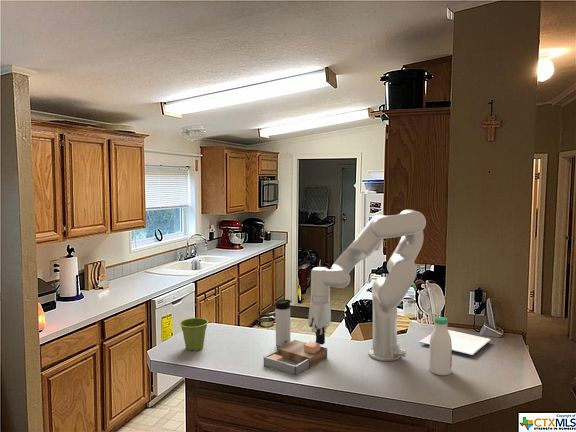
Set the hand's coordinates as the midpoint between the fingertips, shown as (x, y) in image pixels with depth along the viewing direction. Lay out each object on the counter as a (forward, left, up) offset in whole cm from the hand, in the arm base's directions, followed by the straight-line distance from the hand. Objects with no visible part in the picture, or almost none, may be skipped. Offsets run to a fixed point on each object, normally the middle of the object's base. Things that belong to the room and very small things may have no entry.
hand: (320, 343), depth 179 cm
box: (+4, +17, -5) cm, 18 cm away
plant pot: (+47, +24, -5) cm, 54 cm away
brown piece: (+4, +6, -5) cm, 9 cm away
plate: (-40, -45, -6) cm, 60 cm away
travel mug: (+18, 0, -5) cm, 19 cm away
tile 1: (+9, +18, -2) cm, 20 cm away
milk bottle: (-44, -14, -5) cm, 46 cm away
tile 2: (0, +6, -1) cm, 6 cm away
